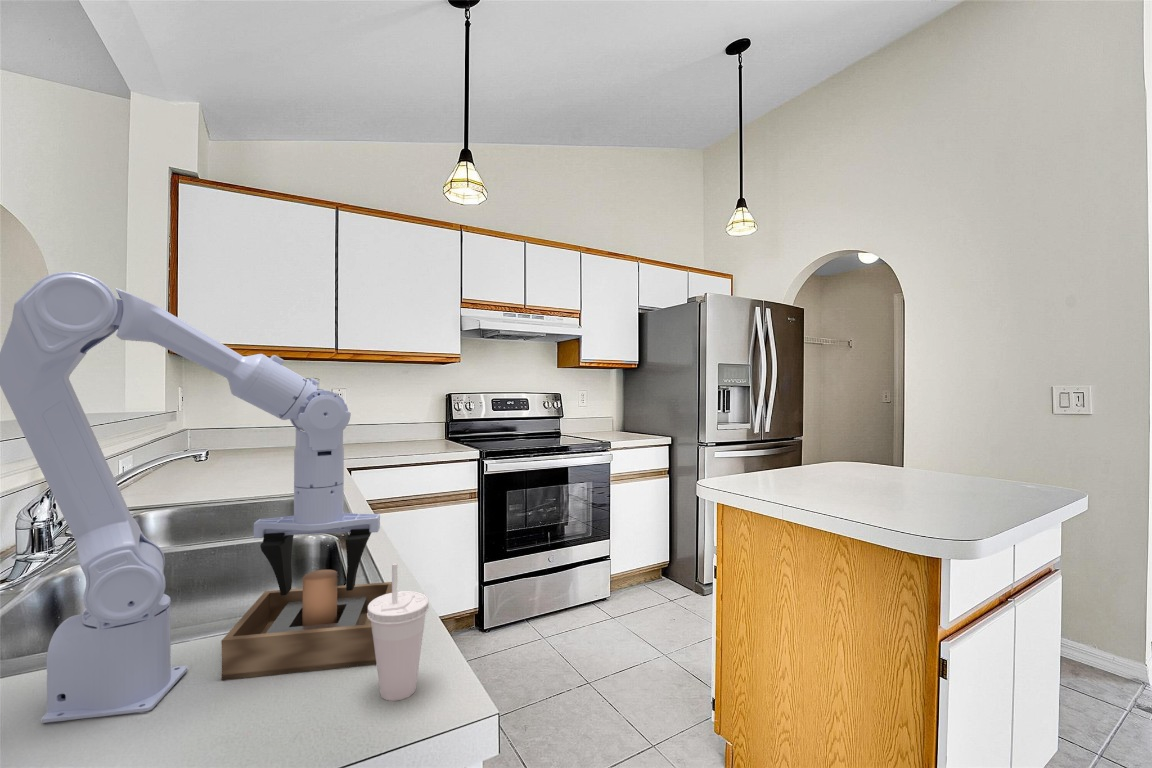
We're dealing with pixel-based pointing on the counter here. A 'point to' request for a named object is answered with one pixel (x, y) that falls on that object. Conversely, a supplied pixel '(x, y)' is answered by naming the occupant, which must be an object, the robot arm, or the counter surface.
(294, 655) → the socket box
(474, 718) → the counter surface
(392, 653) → the smoothie
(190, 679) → the counter surface
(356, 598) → the socket plate
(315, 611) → the peg
